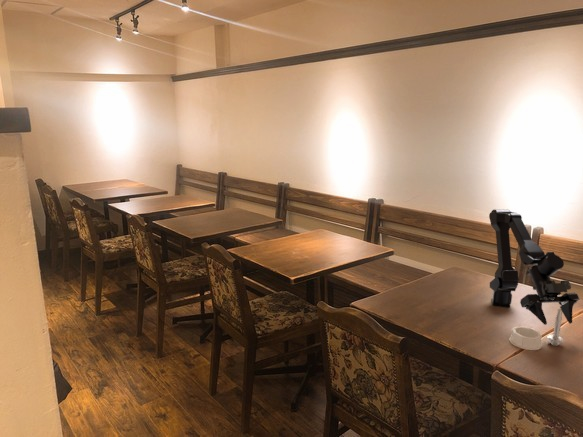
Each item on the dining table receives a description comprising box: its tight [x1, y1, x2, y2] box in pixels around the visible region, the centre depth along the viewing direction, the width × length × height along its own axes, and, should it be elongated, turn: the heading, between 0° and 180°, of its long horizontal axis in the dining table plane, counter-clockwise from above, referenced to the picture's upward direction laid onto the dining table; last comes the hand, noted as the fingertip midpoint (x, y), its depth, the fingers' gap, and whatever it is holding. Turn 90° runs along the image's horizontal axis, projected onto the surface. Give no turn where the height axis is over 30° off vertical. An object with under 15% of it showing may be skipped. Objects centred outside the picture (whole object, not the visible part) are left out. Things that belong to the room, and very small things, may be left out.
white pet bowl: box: [509, 325, 543, 351], centre depth 160 cm, size 10×10×4 cm
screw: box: [546, 308, 564, 347], centre depth 159 cm, size 13×5×5 cm
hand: (558, 323), depth 158 cm, fingers open, 9 cm apart
